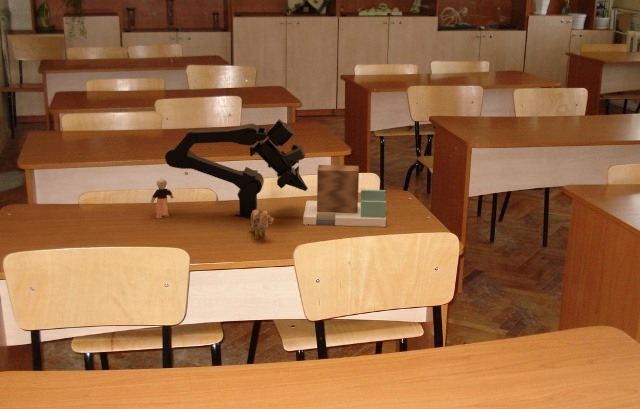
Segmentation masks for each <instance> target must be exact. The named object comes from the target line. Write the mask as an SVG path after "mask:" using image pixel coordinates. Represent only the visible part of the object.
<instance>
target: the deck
mask: <svg viewBox="0 0 640 409" xmlns="http://www.w3.org/2000/svg"><path fill="white" fill-rule="evenodd" d="M386 192H387V191H386V190H385V189H360V202H359V201H358V213H332V212H317V200H306V203H305V207H304V208H305V209H304V212H303V219H302V220H303V225H308V224H309V225H314V226H315V225H316V226H345V227H346V226H349V227H352V226H353V227H382V228H383V227H387V203H388V202H387V200H386ZM309 225H308V226H309Z"/></svg>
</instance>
